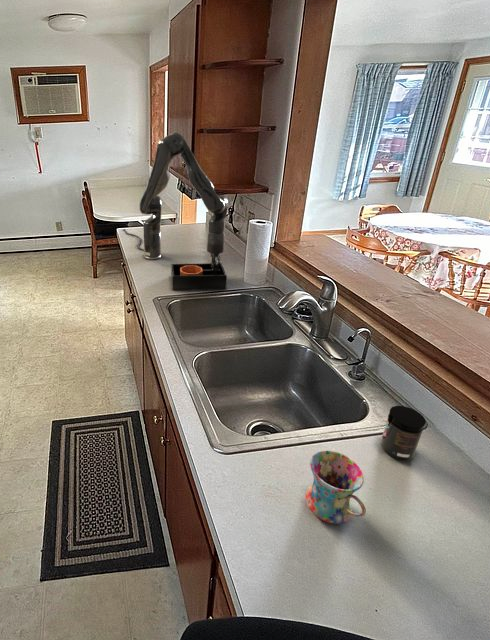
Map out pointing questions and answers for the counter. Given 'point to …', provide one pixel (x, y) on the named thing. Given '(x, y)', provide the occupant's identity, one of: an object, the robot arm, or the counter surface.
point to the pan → (194, 270)
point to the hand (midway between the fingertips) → (214, 277)
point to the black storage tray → (198, 278)
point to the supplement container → (402, 432)
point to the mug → (334, 486)
